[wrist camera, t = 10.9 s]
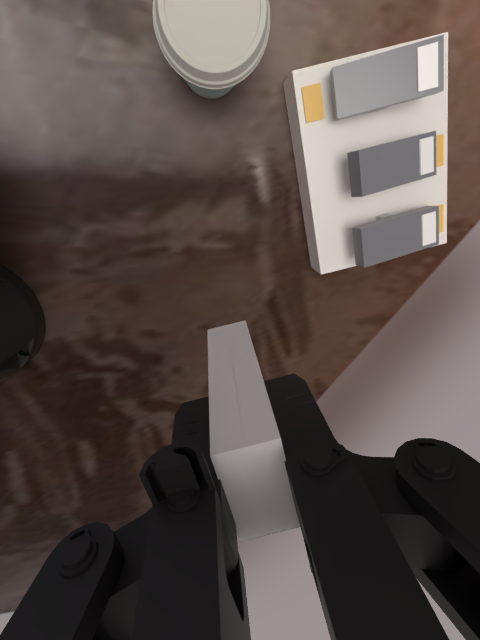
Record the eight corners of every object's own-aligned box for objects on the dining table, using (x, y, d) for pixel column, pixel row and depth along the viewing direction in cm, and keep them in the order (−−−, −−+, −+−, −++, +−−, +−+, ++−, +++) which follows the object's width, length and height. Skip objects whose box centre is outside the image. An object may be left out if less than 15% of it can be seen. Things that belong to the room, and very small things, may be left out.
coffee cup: (269, 68, 35) (300, 13, 24) (211, 133, 36) (213, 110, 25) (209, -13, 32) (211, -118, 21) (148, 61, 34) (121, 1, 22)
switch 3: (355, 264, 36) (365, 267, 35) (351, 227, 35) (361, 228, 33) (427, 242, 38) (439, 244, 36) (426, 205, 36) (440, 205, 35)
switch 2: (351, 197, 33) (363, 196, 32) (347, 152, 32) (359, 150, 30) (423, 176, 35) (437, 174, 34) (422, 133, 34) (437, 130, 32)
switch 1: (335, 120, 32) (338, 118, 31) (329, 71, 31) (332, 66, 29) (435, 94, 31) (444, 90, 29) (435, 40, 29) (444, 33, 28)
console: (310, 266, 43) (325, 278, 38) (282, 82, 35) (296, 65, 30) (425, 237, 43) (456, 245, 38) (422, 48, 35) (459, 24, 30)
